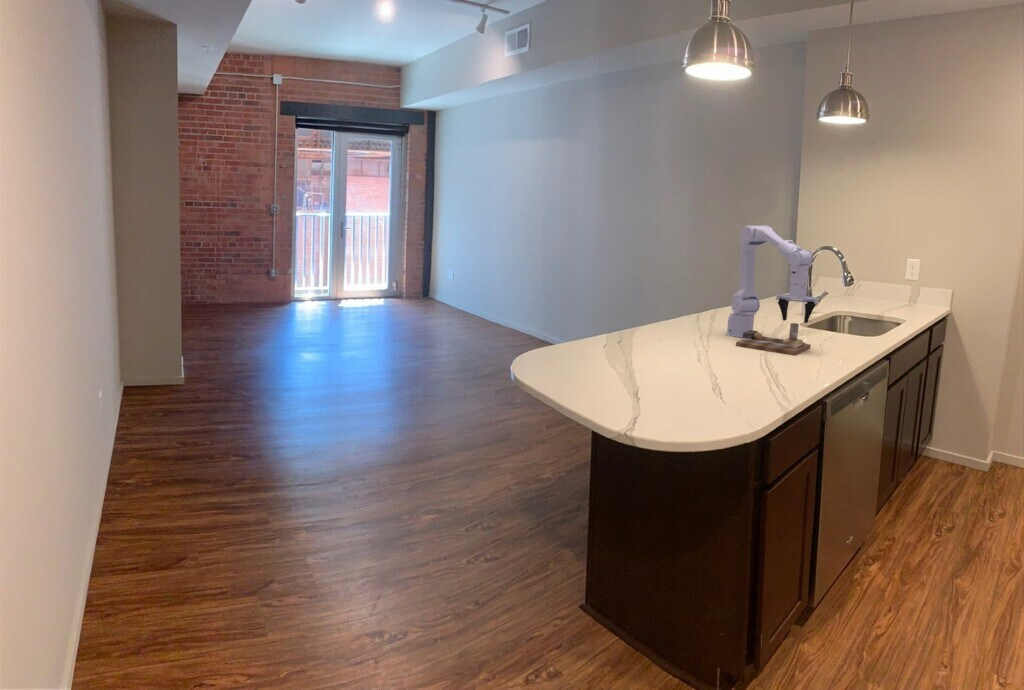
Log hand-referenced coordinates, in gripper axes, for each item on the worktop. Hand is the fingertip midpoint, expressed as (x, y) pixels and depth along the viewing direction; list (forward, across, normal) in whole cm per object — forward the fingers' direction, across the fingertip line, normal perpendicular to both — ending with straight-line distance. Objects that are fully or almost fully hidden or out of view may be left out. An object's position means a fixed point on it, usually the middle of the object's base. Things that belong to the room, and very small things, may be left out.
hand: (795, 321), depth 262 cm
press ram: (+9, 0, 0) cm, 9 cm away
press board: (+11, -7, 0) cm, 13 cm away
